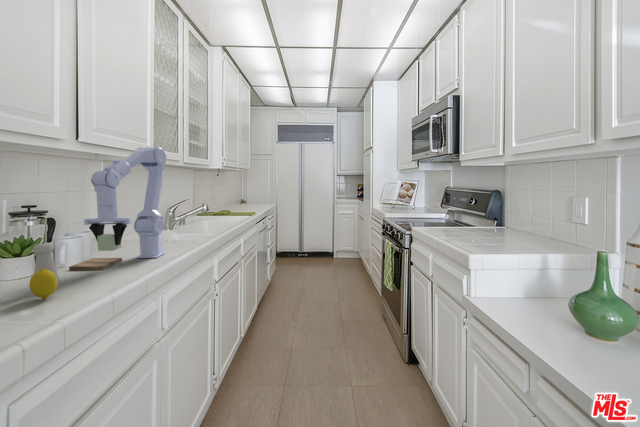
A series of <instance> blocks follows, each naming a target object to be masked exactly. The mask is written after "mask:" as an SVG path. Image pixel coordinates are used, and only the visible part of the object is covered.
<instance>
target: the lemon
mask: <svg viewBox="0 0 640 427" xmlns="http://www.w3.org/2000/svg"><path fill="white" fill-rule="evenodd" d="M57 288H58V285H57V278H56V276H55V274H54V273H53V272H51V271H49V270H45V269H41V270H40V271H37V272H36V273H34V272H33V274H32V276H31V277H30V279H29V290H30V292H31V293H32V295H33V296H35V297H37V298H41V299H43V300H46V299H47V298H48V297H50V296H52V295H54V293H55V292H56V290H57Z"/></svg>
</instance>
